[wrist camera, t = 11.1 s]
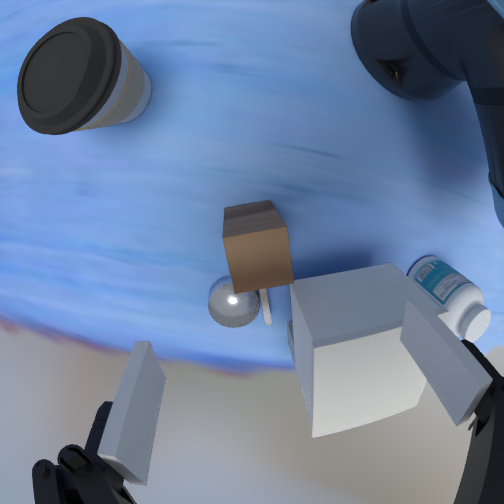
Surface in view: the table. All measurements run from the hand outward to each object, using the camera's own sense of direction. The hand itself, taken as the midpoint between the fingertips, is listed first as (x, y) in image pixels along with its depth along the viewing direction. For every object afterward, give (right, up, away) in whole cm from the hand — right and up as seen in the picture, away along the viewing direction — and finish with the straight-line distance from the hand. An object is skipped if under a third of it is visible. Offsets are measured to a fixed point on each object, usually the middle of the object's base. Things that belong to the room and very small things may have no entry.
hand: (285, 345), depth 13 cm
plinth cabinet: (+9, -2, +23) cm, 25 cm away
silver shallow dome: (-4, -1, +22) cm, 23 cm away
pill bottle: (+24, +1, +24) cm, 34 cm away
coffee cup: (-16, +22, +12) cm, 29 cm away
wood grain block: (-1, +3, +21) cm, 21 cm away
